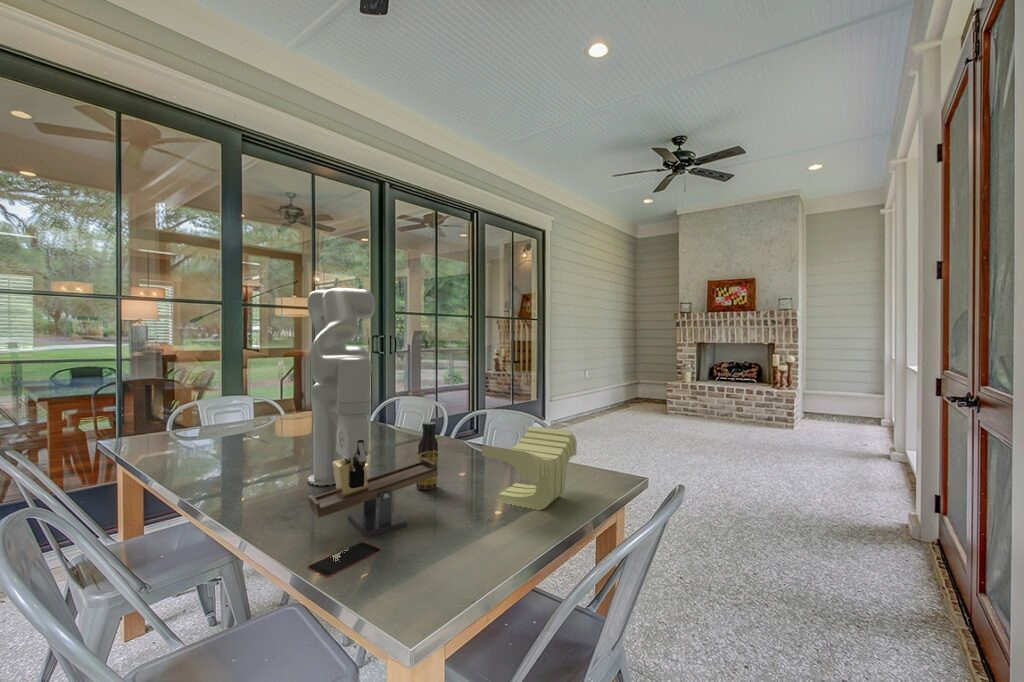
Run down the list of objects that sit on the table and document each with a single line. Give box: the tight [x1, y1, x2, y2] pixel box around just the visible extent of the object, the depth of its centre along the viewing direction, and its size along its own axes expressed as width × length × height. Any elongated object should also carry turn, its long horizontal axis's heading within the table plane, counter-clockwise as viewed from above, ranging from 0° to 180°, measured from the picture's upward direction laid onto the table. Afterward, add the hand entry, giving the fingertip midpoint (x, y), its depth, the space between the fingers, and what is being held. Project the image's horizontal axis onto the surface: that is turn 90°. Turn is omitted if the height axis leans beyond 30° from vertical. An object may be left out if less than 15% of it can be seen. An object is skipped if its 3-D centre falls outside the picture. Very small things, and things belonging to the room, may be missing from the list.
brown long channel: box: [307, 458, 439, 519], centre depth 114 cm, size 8×30×4 cm, turn 128°
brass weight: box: [333, 455, 369, 499], centre depth 111 cm, size 5×6×8 cm
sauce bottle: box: [415, 421, 439, 491], centre depth 141 cm, size 6×6×20 cm
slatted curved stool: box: [481, 425, 578, 511], centre depth 132 cm, size 30×16×18 cm, turn 153°
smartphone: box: [307, 541, 382, 578], centre depth 96 cm, size 7×1×14 cm
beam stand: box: [347, 490, 408, 538], centre depth 115 cm, size 13×10×9 cm
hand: (352, 483), depth 111 cm, fingers closed on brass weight, 5 cm apart
